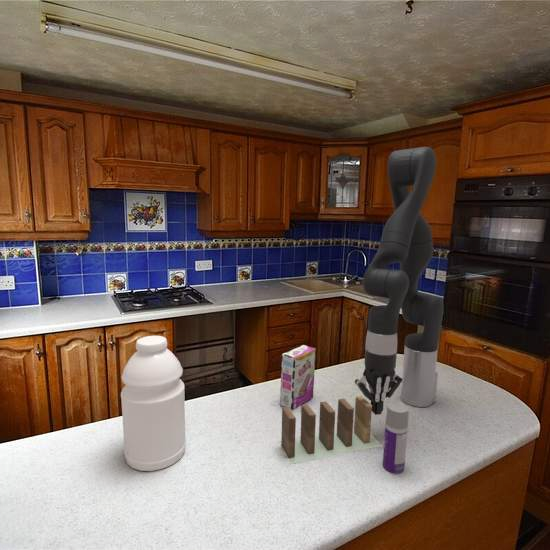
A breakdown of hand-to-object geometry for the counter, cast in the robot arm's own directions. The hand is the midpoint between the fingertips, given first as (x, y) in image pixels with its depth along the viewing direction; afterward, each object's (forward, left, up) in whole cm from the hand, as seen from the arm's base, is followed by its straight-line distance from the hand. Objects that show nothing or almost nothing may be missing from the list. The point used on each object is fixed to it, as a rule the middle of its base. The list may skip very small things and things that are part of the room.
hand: (376, 413), depth 95 cm
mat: (+13, 0, -7) cm, 14 cm away
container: (+3, +12, -7) cm, 14 cm away
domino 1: (+24, 0, -6) cm, 25 cm away
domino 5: (+4, 0, -6) cm, 7 cm away
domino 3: (+14, 0, -6) cm, 15 cm away
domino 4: (+9, 0, -6) cm, 11 cm away
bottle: (+54, -9, -7) cm, 55 cm away
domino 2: (+19, 0, -6) cm, 20 cm away
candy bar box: (+13, -22, -7) cm, 26 cm away
